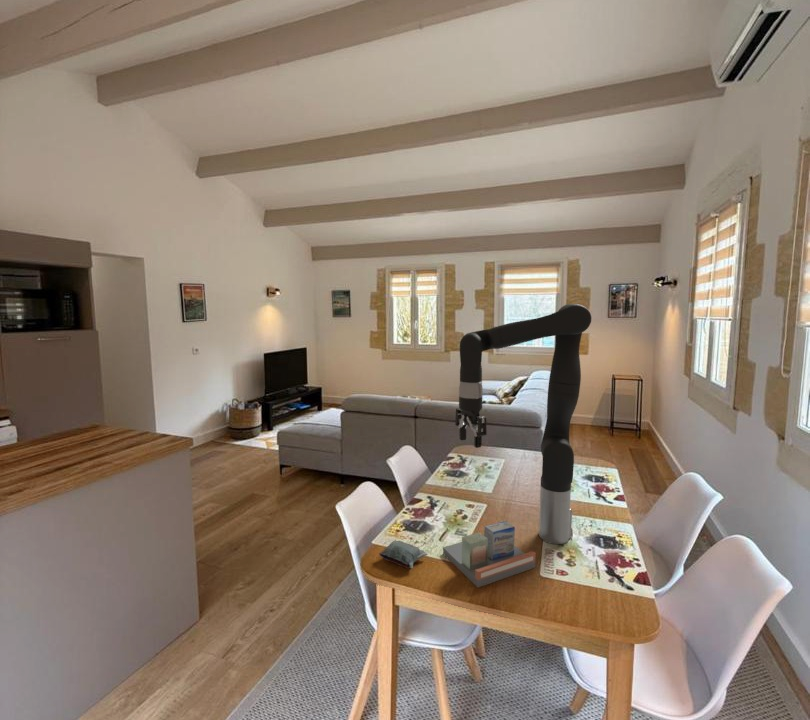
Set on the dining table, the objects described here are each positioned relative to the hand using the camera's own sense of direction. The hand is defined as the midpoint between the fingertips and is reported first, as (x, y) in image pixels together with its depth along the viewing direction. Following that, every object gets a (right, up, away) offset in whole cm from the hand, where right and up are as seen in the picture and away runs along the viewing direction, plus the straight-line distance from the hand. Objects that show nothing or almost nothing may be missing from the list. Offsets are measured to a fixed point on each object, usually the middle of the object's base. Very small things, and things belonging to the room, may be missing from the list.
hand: (470, 443), depth 143 cm
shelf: (+3, -32, -13) cm, 35 cm away
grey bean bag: (-22, -33, -13) cm, 41 cm away
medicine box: (+6, -30, -14) cm, 34 cm away
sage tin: (-2, -31, -19) cm, 36 cm away
